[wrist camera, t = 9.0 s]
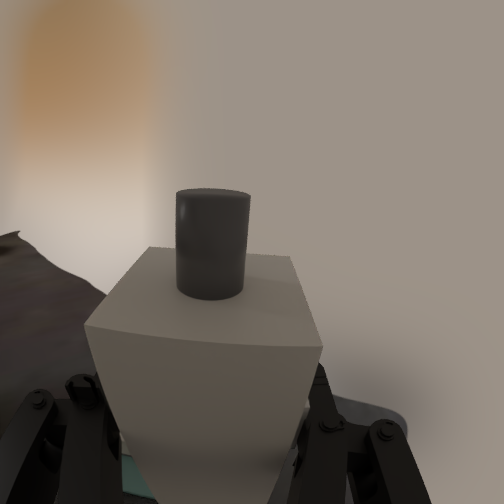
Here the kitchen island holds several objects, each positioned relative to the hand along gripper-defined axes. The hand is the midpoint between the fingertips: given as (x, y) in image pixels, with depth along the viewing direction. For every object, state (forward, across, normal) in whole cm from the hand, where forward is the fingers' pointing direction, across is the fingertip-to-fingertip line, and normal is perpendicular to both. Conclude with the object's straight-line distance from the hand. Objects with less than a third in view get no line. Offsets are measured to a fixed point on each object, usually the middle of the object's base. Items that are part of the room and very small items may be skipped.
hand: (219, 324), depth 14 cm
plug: (-5, 0, -7) cm, 9 cm away
